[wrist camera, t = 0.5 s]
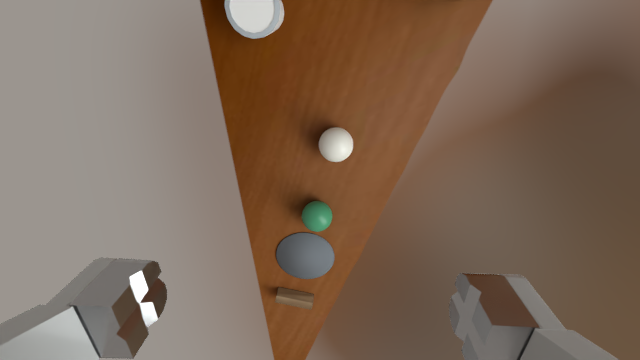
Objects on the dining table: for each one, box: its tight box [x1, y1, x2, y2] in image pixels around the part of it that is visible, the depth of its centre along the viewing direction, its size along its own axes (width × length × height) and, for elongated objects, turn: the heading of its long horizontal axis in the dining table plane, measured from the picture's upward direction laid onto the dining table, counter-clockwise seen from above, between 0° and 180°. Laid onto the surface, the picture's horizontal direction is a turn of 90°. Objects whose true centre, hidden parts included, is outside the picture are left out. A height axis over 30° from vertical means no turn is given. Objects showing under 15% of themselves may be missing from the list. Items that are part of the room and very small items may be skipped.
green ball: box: [302, 201, 332, 232], centre depth 54 cm, size 6×6×6 cm
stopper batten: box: [275, 287, 314, 309], centre depth 65 cm, size 2×8×2 cm, turn 77°
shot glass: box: [225, 0, 284, 39], centre depth 39 cm, size 7×7×7 cm
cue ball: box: [319, 127, 353, 162], centre depth 48 cm, size 6×6×6 cm
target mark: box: [276, 233, 334, 279], centre depth 61 cm, size 12×12×1 cm
